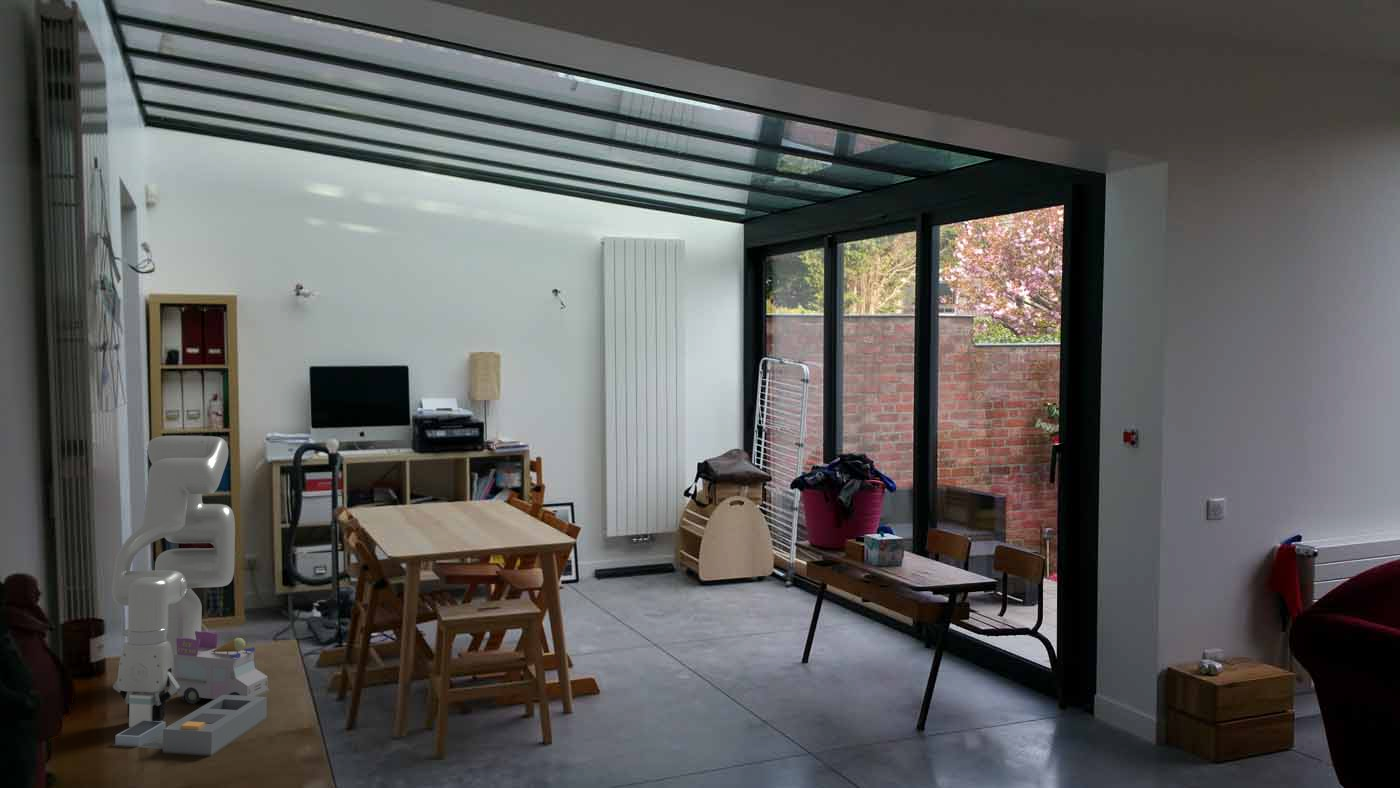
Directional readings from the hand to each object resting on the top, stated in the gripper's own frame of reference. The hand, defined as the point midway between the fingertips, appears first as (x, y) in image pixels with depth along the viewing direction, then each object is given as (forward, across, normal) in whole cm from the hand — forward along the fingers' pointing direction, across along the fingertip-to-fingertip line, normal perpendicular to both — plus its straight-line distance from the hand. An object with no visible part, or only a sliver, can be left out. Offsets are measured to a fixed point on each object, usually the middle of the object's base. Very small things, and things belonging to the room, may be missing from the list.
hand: (146, 720), depth 220 cm
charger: (+1, 0, 0) cm, 1 cm away
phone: (+1, +4, -8) cm, 9 cm away
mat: (+1, +7, -8) cm, 11 cm away
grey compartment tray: (+1, +18, -4) cm, 18 cm away
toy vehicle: (+1, +7, +17) cm, 18 cm away
